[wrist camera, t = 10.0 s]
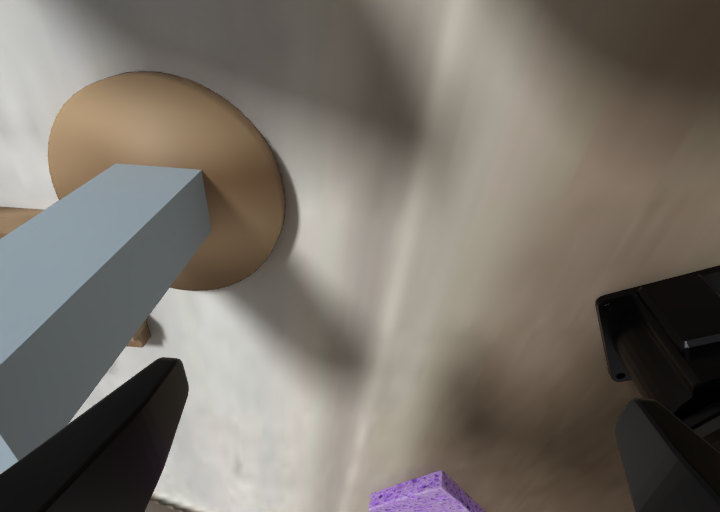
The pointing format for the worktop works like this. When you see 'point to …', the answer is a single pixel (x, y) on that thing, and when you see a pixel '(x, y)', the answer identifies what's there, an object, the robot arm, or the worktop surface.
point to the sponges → (424, 496)
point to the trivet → (178, 162)
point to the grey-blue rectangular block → (87, 290)
